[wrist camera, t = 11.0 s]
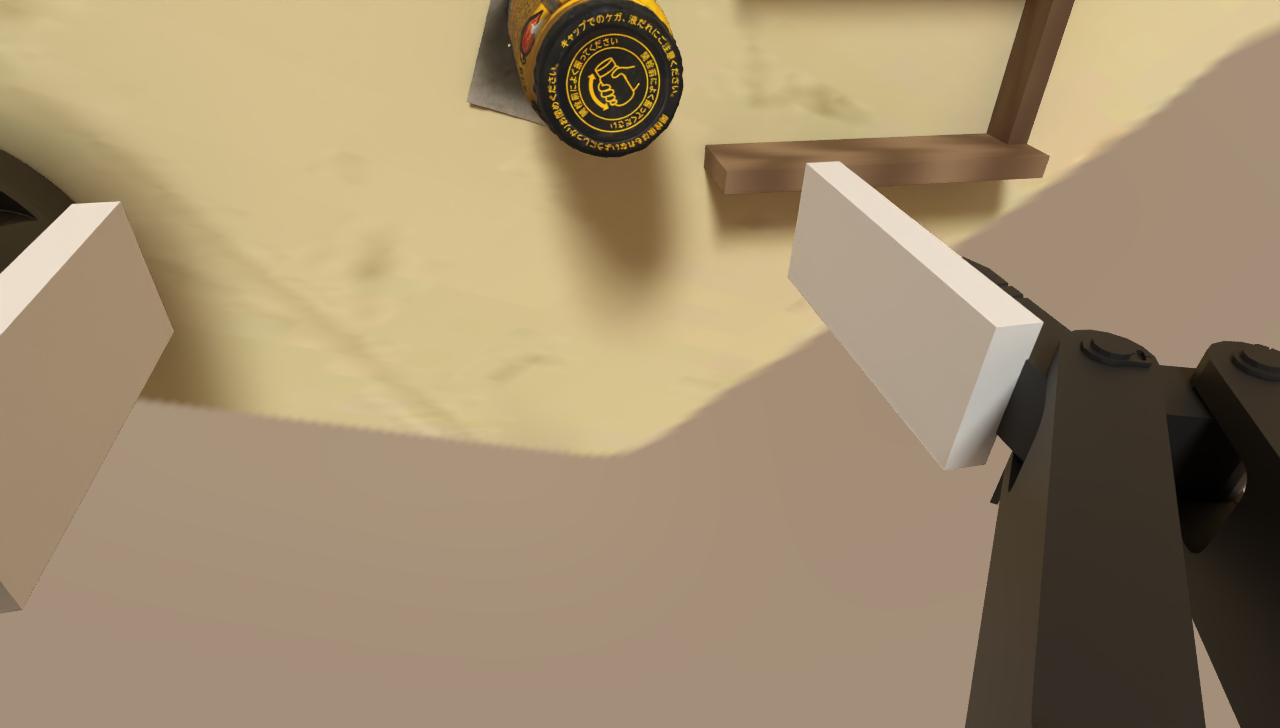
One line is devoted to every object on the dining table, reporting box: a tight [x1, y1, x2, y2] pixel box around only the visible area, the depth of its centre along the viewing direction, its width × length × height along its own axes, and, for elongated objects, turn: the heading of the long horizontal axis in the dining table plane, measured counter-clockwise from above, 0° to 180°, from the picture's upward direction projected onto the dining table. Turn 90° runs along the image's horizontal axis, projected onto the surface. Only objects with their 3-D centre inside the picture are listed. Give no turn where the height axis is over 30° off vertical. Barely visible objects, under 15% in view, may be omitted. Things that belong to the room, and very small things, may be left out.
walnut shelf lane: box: [704, 0, 1075, 195], centre depth 36 cm, size 18×13×4 cm
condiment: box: [467, 0, 683, 158], centre depth 30 cm, size 7×8×12 cm
